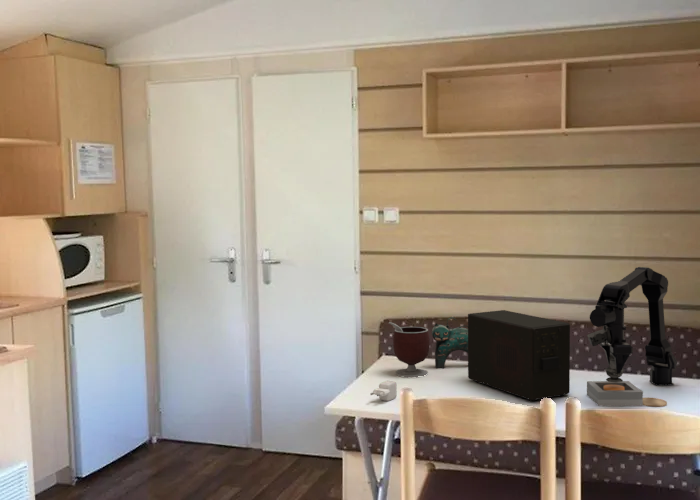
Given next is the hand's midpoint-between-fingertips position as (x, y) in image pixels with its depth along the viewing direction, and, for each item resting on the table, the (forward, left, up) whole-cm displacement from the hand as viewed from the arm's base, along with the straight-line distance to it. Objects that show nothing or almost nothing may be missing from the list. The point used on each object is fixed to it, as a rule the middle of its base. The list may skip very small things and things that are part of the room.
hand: (614, 369), depth 252 cm
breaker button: (0, 0, -8) cm, 8 cm away
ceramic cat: (+47, -49, -10) cm, 69 cm away
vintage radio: (+28, -15, -10) cm, 33 cm away
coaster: (-11, +4, -10) cm, 15 cm away
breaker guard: (0, 0, -10) cm, 10 cm away
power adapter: (+76, 0, -10) cm, 77 cm away
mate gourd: (+66, -38, -10) cm, 77 cm away
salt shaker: (0, 0, -4) cm, 4 cm away
